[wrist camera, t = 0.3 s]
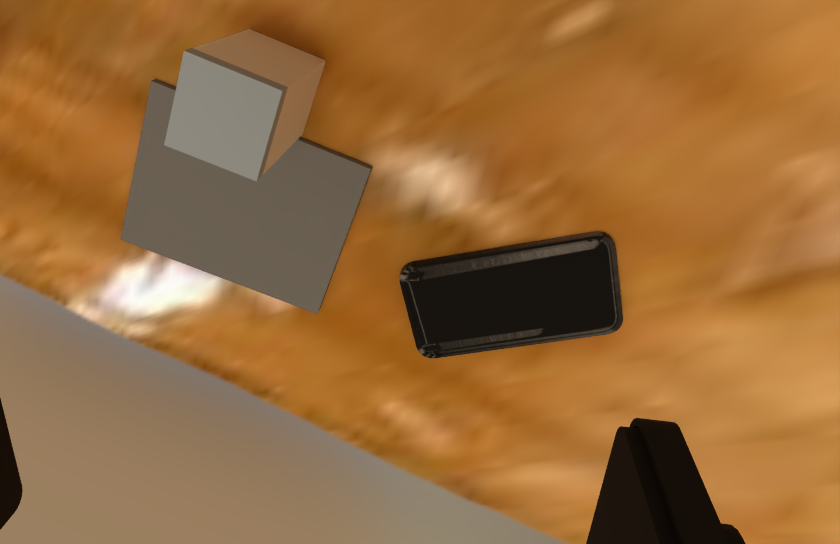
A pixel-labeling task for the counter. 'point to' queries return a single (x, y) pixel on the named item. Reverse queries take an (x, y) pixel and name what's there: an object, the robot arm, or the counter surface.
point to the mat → (244, 211)
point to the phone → (514, 295)
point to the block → (242, 101)
